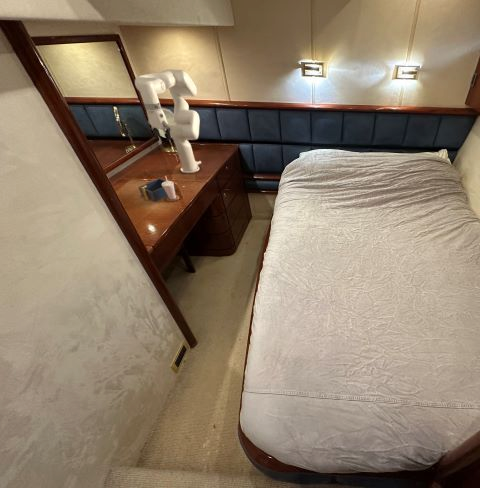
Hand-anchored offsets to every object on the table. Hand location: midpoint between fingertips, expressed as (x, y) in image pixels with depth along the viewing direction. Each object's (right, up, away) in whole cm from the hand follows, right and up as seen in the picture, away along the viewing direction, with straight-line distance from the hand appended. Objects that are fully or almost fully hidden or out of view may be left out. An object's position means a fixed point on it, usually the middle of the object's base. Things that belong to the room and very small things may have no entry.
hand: (163, 138), depth 155 cm
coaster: (+2, -35, +6) cm, 35 cm away
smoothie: (+2, -34, +6) cm, 35 cm away
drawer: (-8, -31, +9) cm, 34 cm away
